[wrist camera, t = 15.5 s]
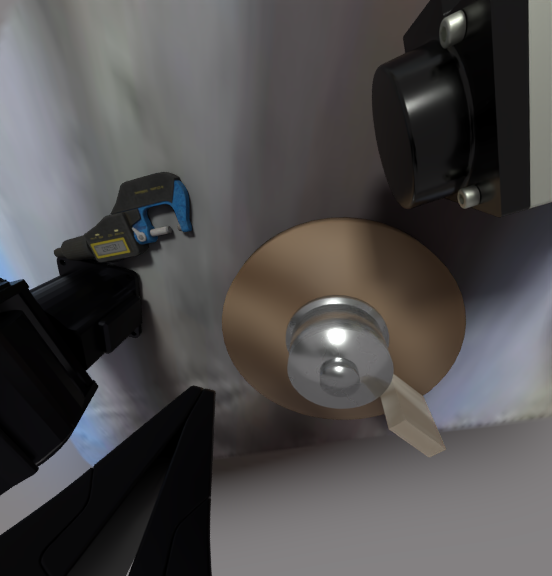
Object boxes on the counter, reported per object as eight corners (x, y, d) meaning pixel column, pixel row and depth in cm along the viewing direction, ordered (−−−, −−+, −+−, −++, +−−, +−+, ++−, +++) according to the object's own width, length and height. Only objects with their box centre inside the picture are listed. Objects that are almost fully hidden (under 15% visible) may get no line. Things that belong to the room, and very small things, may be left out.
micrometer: (171, 168, 16) (198, 246, 19) (183, 167, 18) (207, 238, 20) (18, 208, 19) (57, 273, 21) (41, 203, 20) (76, 264, 23)
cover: (337, 390, 21) (341, 439, 17) (266, 340, 19) (255, 382, 16) (410, 337, 18) (434, 383, 14) (332, 274, 16) (337, 308, 13)
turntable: (338, 431, 25) (344, 498, 20) (190, 332, 22) (155, 382, 17) (509, 322, 18) (580, 385, 13) (326, 157, 15) (331, 160, 10)
